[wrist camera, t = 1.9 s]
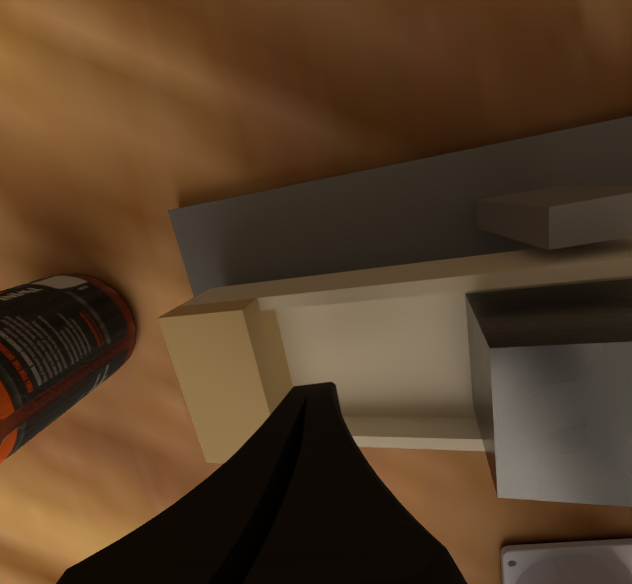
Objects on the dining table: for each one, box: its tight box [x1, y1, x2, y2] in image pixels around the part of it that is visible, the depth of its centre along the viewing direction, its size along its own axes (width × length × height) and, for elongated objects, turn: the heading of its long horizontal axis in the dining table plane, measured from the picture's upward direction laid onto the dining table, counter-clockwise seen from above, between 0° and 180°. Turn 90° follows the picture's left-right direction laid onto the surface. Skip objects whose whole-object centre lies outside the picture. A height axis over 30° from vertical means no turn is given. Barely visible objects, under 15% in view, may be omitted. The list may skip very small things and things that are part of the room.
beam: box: [158, 237, 632, 463], centre depth 11 cm, size 7×28×4 cm, turn 101°
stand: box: [168, 116, 632, 297], centre depth 14 cm, size 14×30×6 cm, turn 101°
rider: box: [465, 279, 632, 507], centre depth 10 cm, size 4×5×4 cm
